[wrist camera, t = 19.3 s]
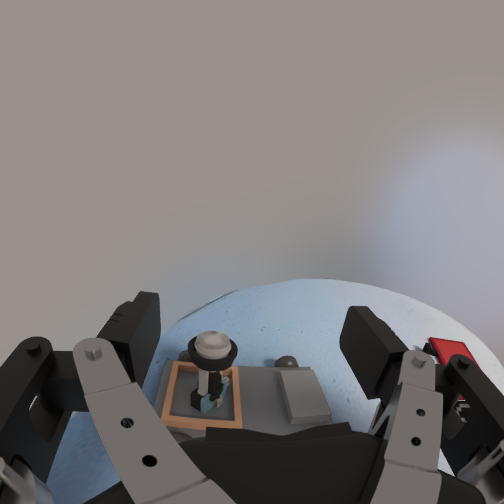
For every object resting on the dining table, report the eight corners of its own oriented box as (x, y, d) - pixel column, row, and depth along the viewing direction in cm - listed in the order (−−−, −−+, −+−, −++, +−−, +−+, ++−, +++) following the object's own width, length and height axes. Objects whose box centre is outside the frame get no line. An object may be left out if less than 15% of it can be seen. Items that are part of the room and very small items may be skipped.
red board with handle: (447, 429, 26) (503, 425, 22) (456, 417, 25) (512, 414, 21) (415, 339, 54) (461, 346, 50) (419, 329, 53) (465, 337, 49)
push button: (211, 377, 35) (215, 317, 32) (244, 394, 32) (253, 333, 30) (179, 402, 29) (177, 340, 26) (214, 423, 27) (219, 362, 24)
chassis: (303, 372, 41) (309, 353, 40) (334, 454, 25) (345, 437, 24) (168, 365, 39) (167, 345, 38) (148, 453, 22) (143, 435, 21)
